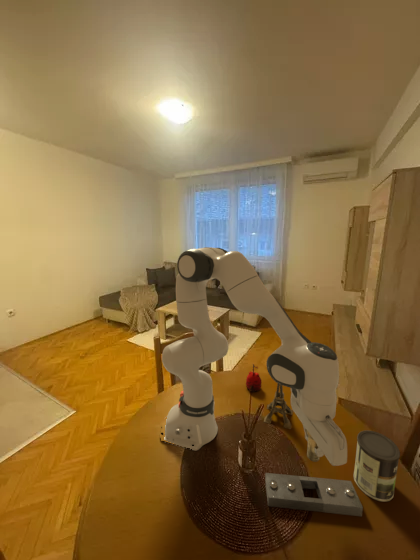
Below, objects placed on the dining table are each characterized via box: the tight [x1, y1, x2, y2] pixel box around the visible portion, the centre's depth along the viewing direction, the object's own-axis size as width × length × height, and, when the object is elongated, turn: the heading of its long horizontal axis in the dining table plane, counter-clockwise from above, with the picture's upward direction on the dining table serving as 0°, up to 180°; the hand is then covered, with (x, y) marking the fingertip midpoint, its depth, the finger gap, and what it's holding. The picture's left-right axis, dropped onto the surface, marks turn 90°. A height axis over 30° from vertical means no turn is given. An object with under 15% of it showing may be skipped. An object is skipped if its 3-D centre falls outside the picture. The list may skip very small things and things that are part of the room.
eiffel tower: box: [263, 382, 294, 430], centre depth 97 cm, size 11×11×25 cm
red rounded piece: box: [245, 363, 262, 392], centre depth 116 cm, size 8×7×15 cm
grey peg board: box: [264, 472, 364, 517], centre depth 69 cm, size 25×7×4 cm, turn 83°
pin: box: [306, 431, 320, 463], centre depth 66 cm, size 4×4×8 cm
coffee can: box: [353, 429, 401, 502], centre depth 71 cm, size 10×10×14 cm
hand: (313, 447), depth 66 cm, fingers closed on pin, 3 cm apart
